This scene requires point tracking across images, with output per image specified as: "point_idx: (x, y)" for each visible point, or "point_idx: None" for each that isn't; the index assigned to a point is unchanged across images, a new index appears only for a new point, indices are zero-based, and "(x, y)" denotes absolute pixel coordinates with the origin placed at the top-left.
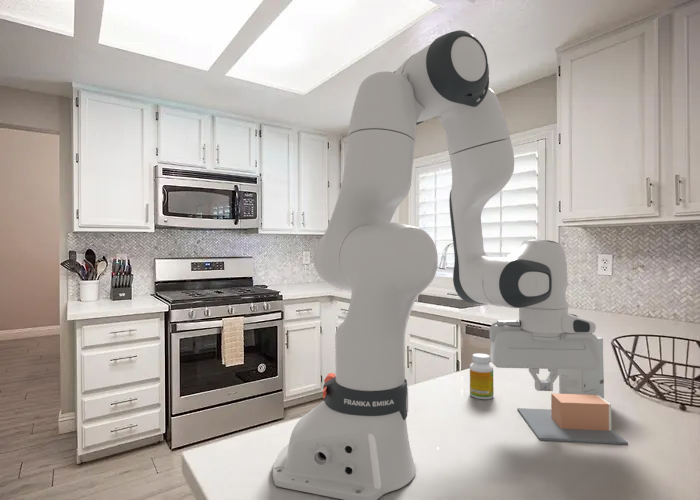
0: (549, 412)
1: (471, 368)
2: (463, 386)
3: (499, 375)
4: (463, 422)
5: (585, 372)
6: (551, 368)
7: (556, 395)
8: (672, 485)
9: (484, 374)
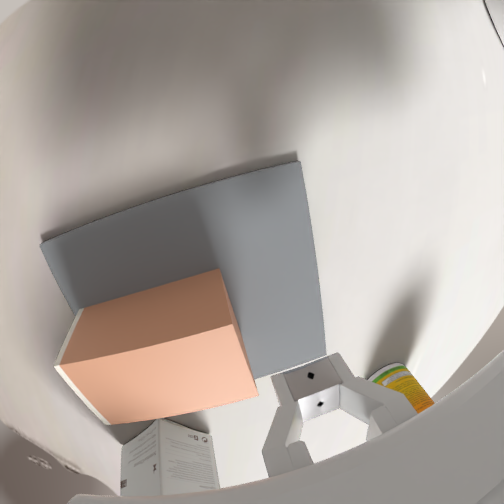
0: None
1: None
2: None
3: None
4: (453, 216)
5: None
6: (323, 462)
7: (241, 386)
8: (2, 46)
9: (416, 409)
